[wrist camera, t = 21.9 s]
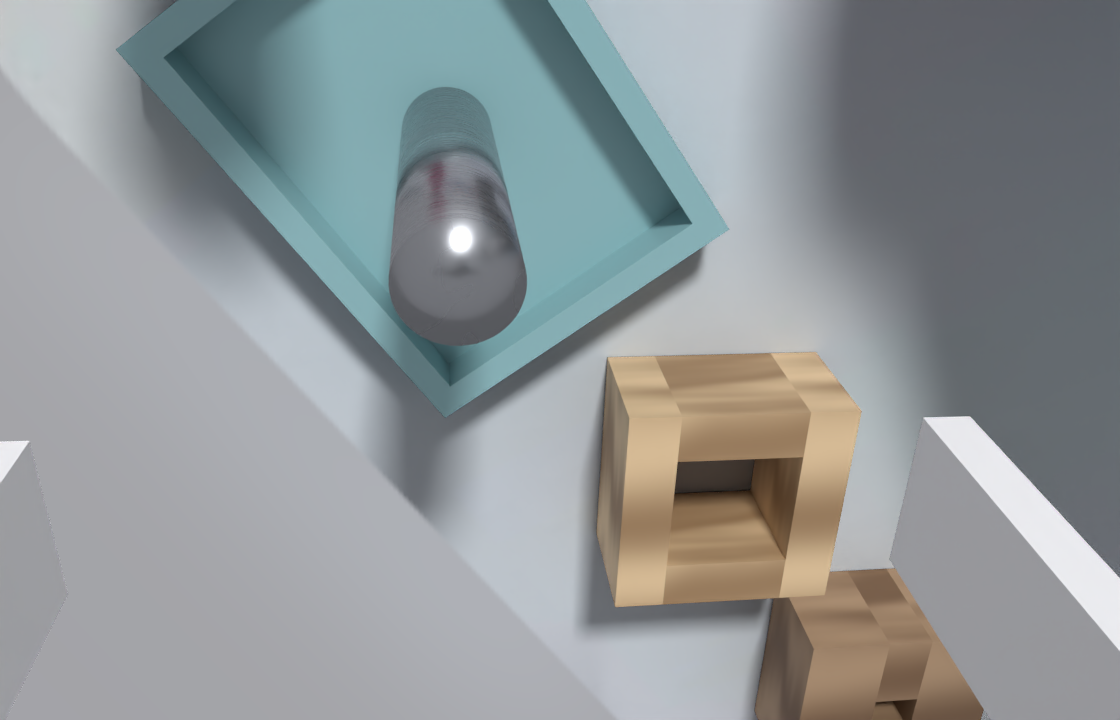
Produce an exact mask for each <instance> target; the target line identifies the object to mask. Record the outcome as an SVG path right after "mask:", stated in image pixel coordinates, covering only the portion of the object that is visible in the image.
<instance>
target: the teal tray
mask: <svg viewBox="0 0 1120 720" xmlns="http://www.w3.org/2000/svg"><path fill="white" fill-rule="evenodd" d="M116 50H117V52H118V53H119V54H120V55H121V56H122V57H123V58H124V59H125V61H126V62H127V63H128V64H129V65H130V66H131V67H132V68H133V69H134V71H135V72H136V73H137V74H138V75H139V76H140V77H141V78H142V80H143V81H144V82H145V83H146V84H147V85H148V86H149V87H150V88H151V90H152V91H153V92H154V93H155V94H156V95H157V96H158V97H159V99H160V100H161V101H162V102H163V103H164V104H165V105H166V106H167V108H168V109H169V110H170V111H171V112H172V113H173V114H174V115H175V116H176V118H177V119H178V120H179V121H180V122H181V123H182V124H183V125H184V127H185V128H186V129H187V130H188V131H189V132H190V133H191V134H192V135H193V137H194V138H195V139H196V140H197V141H198V142H199V143H200V144H201V146H202V147H203V148H204V149H205V150H206V151H207V152H208V153H209V154H210V156H211V157H212V158H213V159H214V160H215V161H216V162H217V163H218V165H219V166H220V167H221V168H222V169H223V170H224V171H225V172H226V174H227V175H228V176H229V177H230V178H231V179H232V180H233V181H234V182H235V184H236V185H237V186H238V187H239V188H240V189H241V190H242V191H243V193H244V194H245V195H246V196H247V197H248V198H249V199H250V200H251V201H252V203H253V204H254V205H255V206H256V207H257V208H258V209H259V210H260V212H261V213H262V214H263V215H264V216H265V217H266V218H267V219H268V221H269V222H270V223H271V224H272V225H273V226H274V227H275V228H276V229H277V231H278V232H279V233H280V234H281V235H282V236H283V237H284V238H285V240H286V241H287V242H288V243H289V244H290V245H291V246H292V247H293V248H294V250H295V251H296V252H297V253H298V254H299V255H300V256H301V257H302V259H303V260H304V261H305V262H306V263H307V264H308V265H309V266H310V268H311V269H312V270H313V271H314V272H315V273H316V274H317V275H318V276H319V278H320V279H321V280H322V281H323V282H324V283H325V284H326V285H327V287H328V288H329V289H330V290H331V291H332V292H333V293H334V294H335V295H336V297H337V298H338V299H339V300H340V301H341V302H342V303H343V304H344V306H345V307H346V308H347V309H348V310H349V311H350V312H351V313H352V314H353V316H354V317H355V318H356V319H357V320H358V321H359V322H360V323H361V325H362V326H363V327H364V328H365V329H366V330H367V331H368V332H369V334H370V335H371V336H372V337H373V338H374V339H375V340H376V341H377V342H378V344H379V345H380V346H381V347H382V348H383V349H384V350H385V351H386V353H387V354H388V355H389V356H390V357H391V358H392V359H393V360H394V361H395V363H396V364H397V365H398V366H399V367H400V368H401V369H402V370H403V372H404V373H405V374H406V375H407V376H408V377H409V378H410V379H411V381H412V382H413V383H414V384H415V385H416V386H417V387H418V388H419V389H420V391H421V392H422V393H423V394H424V395H425V396H426V397H427V398H428V400H429V401H430V402H431V403H432V404H433V405H434V406H435V407H436V408H437V410H438V411H439V412H440V413H441V414H442V415H443V416H444V417H445V418H446V417H448V416H449V415H451V414H452V413H454V412H455V411H457V410H458V409H460V408H461V407H463V406H464V405H466V404H467V403H469V402H470V401H472V400H473V399H475V398H476V397H478V396H479V395H481V394H482V393H484V392H485V391H487V390H488V389H490V388H491V387H493V386H494V385H496V384H497V383H499V382H500V381H502V380H503V379H505V378H506V377H508V376H509V375H511V374H512V373H514V372H515V371H517V370H518V369H520V368H521V367H523V366H524V365H526V364H527V363H529V362H530V361H532V360H533V359H535V358H536V357H538V356H539V355H541V354H542V353H544V352H545V351H547V350H548V349H550V348H551V347H553V346H554V345H556V344H557V343H559V342H560V341H562V340H563V339H565V338H566V337H568V336H569V335H571V334H572V333H574V332H575V331H577V330H578V329H580V328H582V327H583V326H585V325H586V324H588V323H589V322H591V321H592V320H594V319H595V318H597V317H598V316H600V315H601V314H603V313H604V312H606V311H607V310H609V309H610V308H612V307H613V306H615V305H616V304H618V303H619V302H621V301H622V300H624V299H625V298H627V297H628V296H630V295H631V294H633V293H634V292H636V291H637V290H639V289H640V288H642V287H643V286H645V285H646V284H648V283H649V282H651V281H652V280H654V279H655V278H657V277H658V276H660V275H661V274H663V273H664V272H666V271H667V270H669V269H670V268H672V267H673V266H675V265H676V264H678V263H679V262H681V261H682V260H684V259H685V258H687V257H688V256H690V255H691V254H693V253H694V252H696V251H697V250H699V249H700V248H702V247H703V246H705V245H706V244H708V243H709V242H711V241H712V240H714V239H715V238H717V237H718V236H720V235H722V234H723V233H725V232H726V231H728V230H729V228H728V227H727V225H726V224H725V222H724V220H723V219H722V217H721V216H720V214H719V212H718V211H717V209H716V208H715V206H714V204H713V203H712V201H711V200H710V198H709V196H708V195H707V193H706V192H705V190H704V188H703V187H702V185H701V184H700V182H699V181H698V179H697V177H696V176H695V174H694V173H693V171H692V169H691V168H690V166H689V165H688V163H687V161H686V160H685V158H684V157H683V155H682V153H681V152H680V150H679V149H678V147H677V146H676V144H675V142H674V141H673V139H672V138H671V136H670V134H669V133H668V131H667V130H666V128H665V126H664V125H663V123H662V122H661V120H660V118H659V117H658V115H657V114H656V112H655V110H654V109H653V107H652V106H651V104H650V103H649V101H648V99H647V98H646V96H645V95H644V93H643V91H642V90H641V88H640V87H639V85H638V83H637V82H636V80H635V79H634V77H633V75H632V74H631V72H630V71H629V69H628V68H627V66H626V64H625V63H624V61H623V60H622V58H621V56H620V55H619V53H618V52H617V50H616V48H615V47H614V45H613V44H612V42H611V40H610V39H609V37H608V36H607V34H606V32H605V31H604V29H603V28H602V26H601V25H600V23H599V21H598V20H597V18H596V17H595V15H594V13H593V12H592V10H591V9H590V7H589V5H588V4H587V2H586V1H585V0H178V1H176V2H175V3H174V4H173V5H171V6H170V7H169V8H168V9H166V10H165V11H164V12H162V13H161V14H160V15H159V16H157V17H156V18H155V19H154V20H152V21H151V22H150V23H149V24H147V25H146V26H145V27H144V28H142V29H141V30H140V31H139V32H137V33H136V34H135V35H134V36H132V37H131V38H130V39H129V40H127V41H126V42H125V43H124V44H122V45H121V46H120V47H119V48H117V49H116ZM439 87H453V88H458V89H461V90H464V91H466V92H468V93H470V94H471V95H473V96H474V97H475V98H476V99H477V100H479V102H480V103H481V104H482V105H483V106H484V108H485V110H486V111H487V113H488V115H489V118H490V122H491V126H492V130H493V134H494V138H495V142H496V147H497V151H498V155H499V159H500V163H501V168H502V172H503V176H504V180H505V184H506V188H507V193H508V197H509V201H510V205H511V209H512V214H513V218H514V222H515V226H516V230H517V234H518V239H519V243H520V247H521V251H522V255H523V260H524V264H525V268H526V274H527V290H526V295H525V299H524V302H523V305H522V307H521V309H520V311H519V313H518V314H517V316H516V317H515V318H514V320H513V321H512V322H511V323H510V324H509V325H508V326H507V327H506V328H505V329H504V330H503V331H501V332H500V333H499V334H497V335H495V336H494V337H492V338H490V339H488V340H485V341H483V342H480V343H477V344H472V345H465V346H450V345H443V344H439V343H435V342H432V341H430V340H427V339H425V338H423V337H422V336H420V335H418V334H417V333H415V332H414V331H413V330H411V329H410V328H409V327H408V326H407V325H406V324H405V323H404V322H403V321H402V319H401V318H400V317H399V315H398V314H397V312H396V310H395V308H394V306H393V304H392V301H391V297H390V293H389V285H388V283H389V267H390V256H391V245H392V233H393V222H394V211H395V199H396V188H397V177H398V165H399V154H400V143H401V131H402V123H403V118H404V115H405V113H406V111H407V109H408V107H409V106H410V104H411V103H412V102H413V101H414V100H415V99H416V98H417V97H418V96H419V95H421V94H422V93H424V92H426V91H428V90H431V89H434V88H439Z"/></svg>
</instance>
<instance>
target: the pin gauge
mask: <svg viewBox="0 0 1120 720" xmlns="http://www.w3.org/2000/svg"><path fill="white" fill-rule="evenodd" d="M388 285H389V293H390V297H391V301H392V304H393V306H394V308H395V310H396V312H397V314H398V315H399V317H400V318H401V319H402V321H403V322H404V323H405V324H406V325H407V326H408V327H409V328H410V329H411V330H413V331H414V332H415V333H417V334H418V335H420V336H422V337H423V338H425V339H427V340H430V341H432V342H435V343H439V344H443V345H450V346H465V345H472V344H477V343H480V342H483V341H485V340H488V339H490V338H492V337H494V336H495V335H497V334H499V333H500V332H501V331H503V330H504V329H505V328H506V327H507V326H508V325H509V324H510V323H511V322H512V321H513V320H514V318H515V317H516V316H517V314H518V313H519V311H520V309H521V307H522V305H523V302H524V299H525V295H526V290H527V274H526V268H525V264H524V260H523V255H522V251H521V247H520V243H519V239H518V234H517V230H516V226H515V222H514V218H513V214H512V209H511V205H510V201H509V197H508V193H507V188H506V184H505V180H504V176H503V172H502V168H501V163H500V159H499V155H498V151H497V147H496V142H495V138H494V134H493V130H492V126H491V122H490V118H489V115H488V113H487V111H486V110H485V108H484V106H483V105H482V104H481V103H480V102H479V100H477V99H476V98H475V97H474V96H473V95H471V94H470V93H468V92H466V91H464V90H461V89H458V88H453V87H439V88H434V89H431V90H428V91H426V92H424V93H422V94H421V95H419V96H418V97H417V98H416V99H415V100H414V101H413V102H412V103H411V104H410V106H409V107H408V109H407V111H406V113H405V115H404V118H403V123H402V131H401V143H400V154H399V165H398V177H397V188H396V199H395V211H394V222H393V233H392V245H391V256H390V267H389V283H388Z"/></svg>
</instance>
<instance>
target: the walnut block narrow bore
mask: <svg viewBox="0 0 1120 720" xmlns="http://www.w3.org/2000/svg"><path fill="white" fill-rule="evenodd" d="M983 710H984V709H983V707H982V706H981V704H980V702H979V701H978V699H977V698H976V696H975V695H974V693H973V691H972V690H971V688H970V687H969V685H968V683H967V682H966V680H965V679H964V677H963V675H962V674H961V672H960V671H959V669H958V667H957V666H956V664H955V663H954V661H953V659H952V658H951V656H950V655H949V653H948V652H947V650H946V648H945V647H944V645H943V644H942V642H941V640H940V639H939V637H938V636H937V634H936V632H935V631H934V629H933V628H932V626H931V624H930V623H929V621H928V620H927V618H926V617H925V615H924V613H923V612H922V610H921V609H920V607H919V605H918V604H917V602H916V601H915V599H914V597H913V596H912V594H911V593H910V591H909V589H908V588H907V586H906V585H905V583H904V581H903V580H902V578H901V577H900V575H899V574H898V572H897V570H896V569H895V568H894V569H875V570H857V571H838V572H829V576H828V581H827V586H826V591H825V595H821V596H803V597H785V598H774V600H773V606H772V611H771V617H770V623H769V629H768V635H767V641H766V647H765V652H764V658H763V664H762V670H761V676H760V682H759V688H758V694H757V699H756V705H755V713H756V716H757V718H758V720H981V717H982V713H983Z"/></svg>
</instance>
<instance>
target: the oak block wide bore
mask: <svg viewBox="0 0 1120 720" xmlns="http://www.w3.org/2000/svg"><path fill="white" fill-rule="evenodd" d="M861 412H862V411H861V410H860V408H859V407H858V406H857V404H856V403H855V402H854V401H853V399H852V398H851V397H850V395H849V394H848V393H847V392H846V390H845V389H844V388H843V386H842V385H841V384H840V383H839V381H838V380H837V379H836V378H835V376H834V375H833V374H832V372H831V371H830V370H829V369H828V367H827V366H826V365H825V363H824V362H823V361H822V360H821V358H820V357H819V356H818V354H817V353H816V352H803V353H763V354H723V355H683V356H643V357H607V373H606V389H605V405H604V421H603V437H602V453H601V469H600V485H599V500H598V516H597V532H596V533H597V537H598V541H599V545H600V549H601V553H602V557H603V561H604V565H605V569H606V573H607V577H608V581H609V585H610V589H611V593H612V597H613V601H614V605H615V607H627V606H645V605H662V604H680V603H697V602H715V601H733V600H750V599H768V598H785V597H803V596H821V595H825V591H826V586H827V581H828V576H829V571H830V566H831V561H832V556H833V551H834V546H835V541H836V536H837V531H838V526H839V521H840V516H841V511H842V506H843V501H844V496H845V491H846V486H847V481H848V476H849V471H850V466H851V461H852V457H853V452H854V447H855V442H856V437H857V432H858V427H859V422H860V417H861ZM744 459H755V461H754V468H753V475H752V482H751V488H750V490H747V491H723V492H700V493H677V494H674V492H675V482H676V473H677V463H678V462H692V461H718V460H744Z"/></svg>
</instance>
